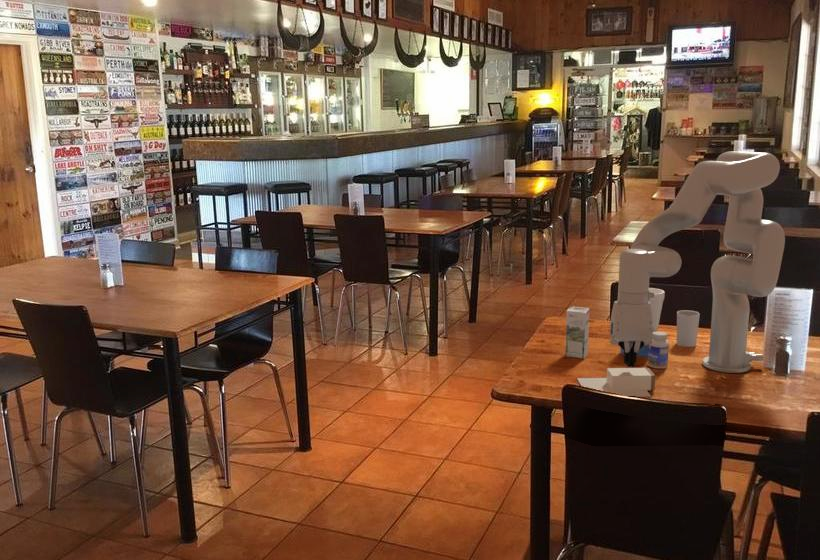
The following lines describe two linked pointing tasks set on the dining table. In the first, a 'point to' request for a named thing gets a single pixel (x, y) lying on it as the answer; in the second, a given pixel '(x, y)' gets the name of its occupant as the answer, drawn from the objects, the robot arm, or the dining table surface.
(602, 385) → the felt mat
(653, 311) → the foam cup
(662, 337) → the pill bottle
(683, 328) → the drinking glass
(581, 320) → the syrup box
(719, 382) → the dining table surface
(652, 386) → the tall block
